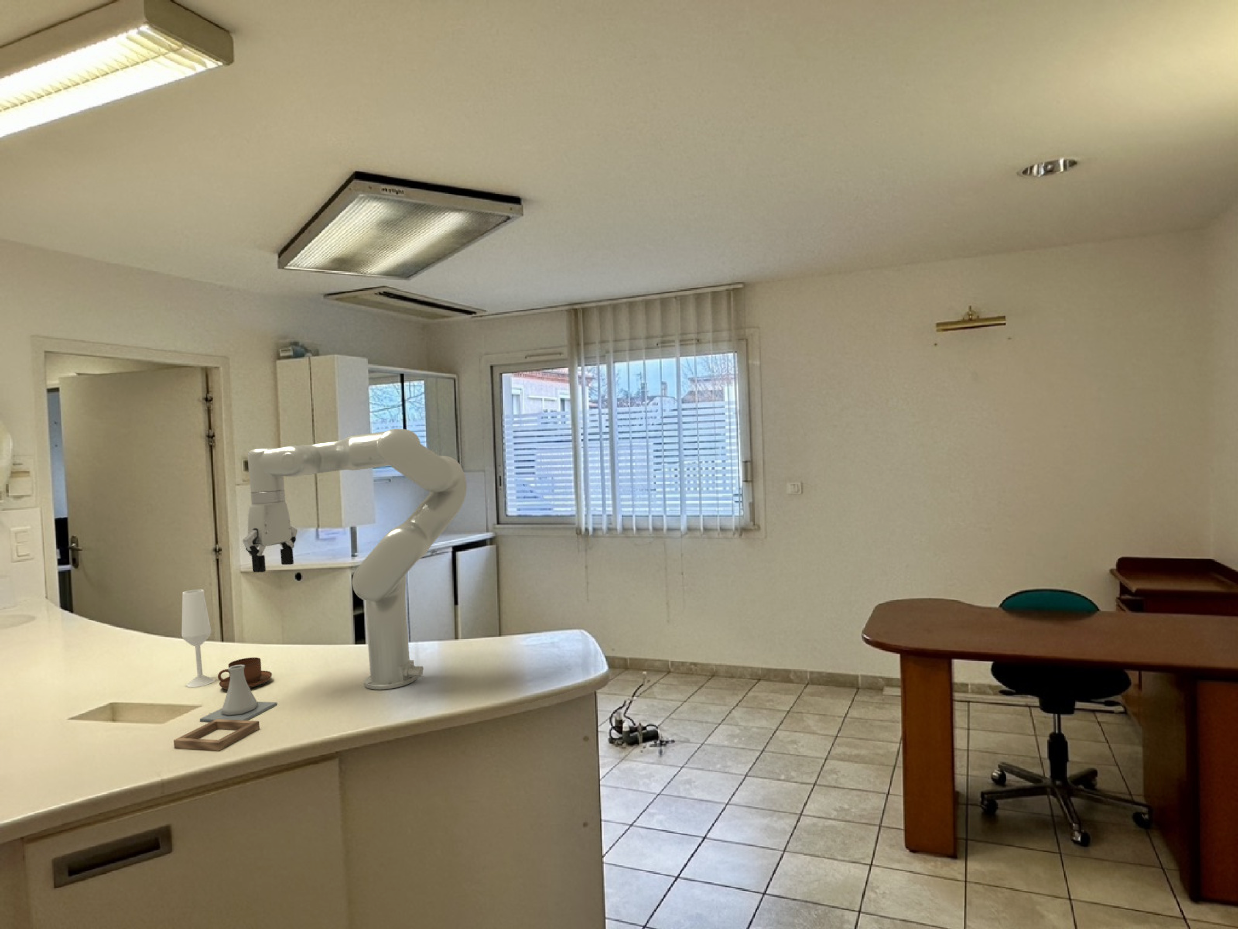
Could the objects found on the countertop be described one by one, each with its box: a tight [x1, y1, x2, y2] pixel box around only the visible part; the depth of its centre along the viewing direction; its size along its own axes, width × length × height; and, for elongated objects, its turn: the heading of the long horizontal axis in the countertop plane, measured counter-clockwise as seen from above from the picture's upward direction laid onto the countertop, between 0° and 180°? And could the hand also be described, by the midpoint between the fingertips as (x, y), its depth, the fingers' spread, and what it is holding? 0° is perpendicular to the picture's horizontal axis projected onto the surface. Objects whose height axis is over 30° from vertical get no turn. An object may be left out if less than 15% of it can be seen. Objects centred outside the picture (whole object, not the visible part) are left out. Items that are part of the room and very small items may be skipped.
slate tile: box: [199, 701, 278, 723], centre depth 166 cm, size 11×11×1 cm
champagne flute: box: [181, 589, 216, 688], centre depth 190 cm, size 7×7×24 cm
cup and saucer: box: [217, 657, 273, 690], centre depth 186 cm, size 12×12×6 cm
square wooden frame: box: [173, 719, 260, 752], centre depth 152 cm, size 11×11×2 cm
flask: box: [221, 665, 258, 715], centre depth 166 cm, size 7×7×10 cm
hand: (273, 568), depth 180 cm, fingers open, 9 cm apart
